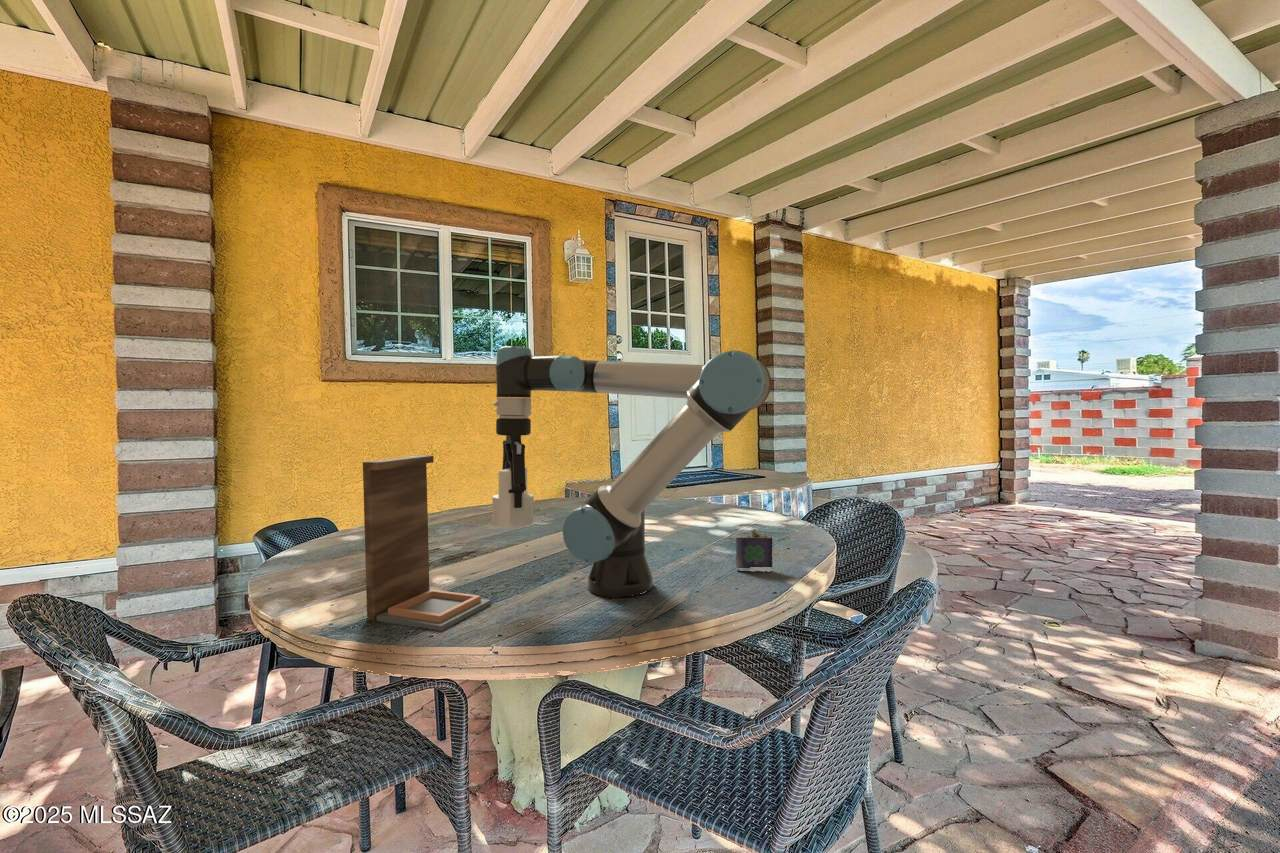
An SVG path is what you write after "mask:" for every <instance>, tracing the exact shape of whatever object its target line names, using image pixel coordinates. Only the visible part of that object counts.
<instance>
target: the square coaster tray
mask: <svg viewBox="0 0 1280 853" xmlns="http://www.w3.org/2000/svg"><path fill="white" fill-rule="evenodd" d="M429 590H430V591H428V592H425V593H423V594H421V595H418V596H416V597H414V598H411V599H409V600H407V601H404V602H402V603H400V604H397V605H395V606H393V607H390V608H388V611H387V612H385V613H382V614H380V615H378V616H377V620H376V622H380V623H381V622H382V623H387V624H395V625H401V626H406V625H407V626H408V627H412V626H415V627H414V628H419V627H422V628H421V629H425V628H428V629H427V630H431V629H434V630H433V631H437V632H442V631H444V630H447V629H448V628H449V627H451V626H454V625H456V624H457V623H459V622H461V621H463V620H465V619H467V618H468V617H470V616H472V615H474V614H475V613H476V614H477V613H478V612H480V611H481V610H483V609H486V607H489V606H491V605H492V601H491V599H487V598H481V597H482V595H477V594H470V593H461V592H454V591H453V592H452V591H447V590H440V589H439V590H437V589H429ZM407 626H406V627H407Z"/></svg>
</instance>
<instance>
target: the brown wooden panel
mask: <svg viewBox="0 0 1280 853" xmlns="http://www.w3.org/2000/svg"><path fill="white" fill-rule="evenodd" d="M432 463H434V455H422V454H421V455H419V454H418V455H412V456H402V457H393V458H386V459H385V458H384V459H379V460H378V459H377V460H375V459H374V460H368V461H362V482H363V483H362V484H363V490H362V491H363V516H364V517H363V518H364V520H363V521H364V554H365V556H364V558H365V559H364V560H365V585H366V587H365V591H366V620H368V621H377V616H378V615H380V614H382V613H385V612H387V611H388V608H390V607H393V606H395V605H397V604H400V603H402V602H404V601H407V600H409V599H411V598H414V597H416V596H418V595H421V594H423V593H425V592H428V591H430V590H431V589H430V557H429V556H430V555H429V551H430V550H429V520H428V517H429V515H428V508H429V507H428V475H427V474H428V472H427V471H428V470H427V468H428V466H427V464H432Z"/></svg>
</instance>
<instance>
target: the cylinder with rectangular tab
mask: <svg viewBox="0 0 1280 853" xmlns="http://www.w3.org/2000/svg"><path fill="white" fill-rule="evenodd" d="M525 480H526V491H524V522H521V523H510V495H511V493H508V491H509V489H512V486H511V471H510V468H508V469H505V470H502V469H500V470H498V494H494V495H492V508H491V509H492V513H491V515H492V521H491V522H492V525H493V526H497V527H503V528H505V527H506V528H516V527H524V526H525V527H526V526H530V525H532V524H534V511H535V510H534V509H535V508H534V507H535V506H534V505H535V504H534V500H535V499H534V498H535V497H534V494H532V493H528V467H527V466H525Z"/></svg>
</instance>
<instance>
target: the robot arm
mask: <svg viewBox="0 0 1280 853" xmlns="http://www.w3.org/2000/svg"><path fill="white" fill-rule="evenodd" d="M495 372H496V401H494V402H493V406H494V407H496V410H495V411H496V412H495V413H496V415H497V416H499V417H497V419H495V433H496V435H497V436H505V440H502V469H501V470H505V469H508V468H510V471H511V486H512V489H509V491H508V493H511V495H510V523H521V522H524V491H526V480H525V467H526V460H525V459H526V458H525V457H526V455H525V451H526V444H524V443H522V436H529V435H531V433H532V432H531V430H532V429H531V428H532V427H531V424H532V423H531V422H532V421H531V418H529V417H530V416H531V415H532V391H542V392H543V391H549V392H551V391H552V392H563V393H564V392H576V393H593V394H594V393H595V394H610V395H611V394H612V395H613V394H614V395H630V396H641V397H642V396H644V397H660V398H676V399H686V403H685V405H683V407H682V408H681V409H680V410H679V411H678V412H677V413H676V414H675V415H674V417H673V418H672V419H671V420H669V422H668V423H667V424H666V425H665V426H664V427H663V428H662V429H661V430H660V431H659V432H658V433H657V435H656V436H655V437H654V438H653V439H652V440H651V441H650V442H649V443H648V445H647V446H645V447H644V449H643V450H642V451H641V452H640V453H639V454H638V456H637V455H636V458H635V459H634V460H633V461H632V462H631V463H630V464H629V465H628V466H627V467H626V468H625V470H624V471H622V473H621V474H620V475H619V476H618V477H617V478H616V479H615V480H614V482H612V484H609V485H607V484H605V485H600V486H599V487H598V488H597V489H596V490H595V491H594V492H593V493H592V494H591V496H589V498H588V499H587V500H586V501H585V502H584V503H583V504H582V505H580V506H578V507H576V508H574V509H573V510H571V511H570V513H569V514H568V515H566V517H565V519H564V521H563V524H562V530H561V531H562V538H563V543H564V545H565V547H566V548H567V551H569V552H570V554H571V555H572V556H573V557H575V558H576V559H578V560H579V561H581V562H585V563H592V565H591V568H590V570H589V571H590V572H589V575H588V579H587V580H588V581H587V583H588V584H587V588H588V591H589V592H590V593H592V594H594V595H597V596H601V597H606V596H607V597H606V598H624V597H623V596H631V597H633V596H632V595H637V594H640V593H643V592H645V591H648V590H649V589H651V588H652V586H654V584H653V583H654V581H653V579H654V578H653V575H652V572H651V570H650V566H649V563H648V560H647V557H646V549H645V547H646V540H645V537H646V536H645V534H646V533H645V531H646V530H645V528H646V527H645V521H646V520H645V518H646V516H645V515H646V514H645V512H646V511H645V510H646V509H647V508H648V507H649V505H651V504H652V503H653V502H654V501H655V499H656V498H657V497H658V496H660V495H661V493H662V492H663V491H664V490H666V489H667V487H668V486H669V485H670V484H671V483H672V482H673V481H674V480H675V478H677V477H678V476H679V475H680V474H681V472H682V471H684V470H685V468H686V467H687V466H688V465H689V464H690V463H691V462H692V461H693V460H694V458H695V459H696V457H697V456H698V455H699V454H700V453H701V452H702V450H703V449H704V448H705V447H706V446H708V444H709V443H710V442H711V441H712V440H713V439H714V438H715V436H718V434H719V433H723V432H727V433H728V432H729V433H731V431H732V430H733V429H735V427H736V426H737V425H738V424H739V423H740V422H741V421H742V420H743V419H744V418H745V417H746V416H747V415H748V414H749V412H751V411H752V410H753V411H754V410H756V409H757V408H759V407H760V406H762V405H763V404H764V403H765V401H766V400H767V398H769V395H770V393H771V388H772V378H771V374H770V371H769V369H768V368H767V366H766V365H765V364H764V363H763V362H762V361H760V360H759V359H757V358H755V357H754V356H752V355H751V354H750V353H747V352H745V351H741V350H729V351H724V352H721V353H718V354H716V355H714V356H713V357H712V358H711V359H709V360H708V361H707V362H706V364H688V363H687V364H686V363H685V364H684V363H663V362H661V363H660V362H643V361H642V362H641V361H639V362H636V361H635V362H634V361H618V360H617V361H611V360H593V359H592V360H589V359H588V360H586V359H580V358H579V357H578V356H574V355H567V354H561V355H544V356H543V355H542V356H541V355H539V356H538V355H532V350H531V349H530V347H526V346H508V345H507V346H501V347H499V348H498V350H497V352H496V365H495ZM652 589H653V588H652ZM652 589H651V590H652ZM637 596H638V595H637Z"/></svg>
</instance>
